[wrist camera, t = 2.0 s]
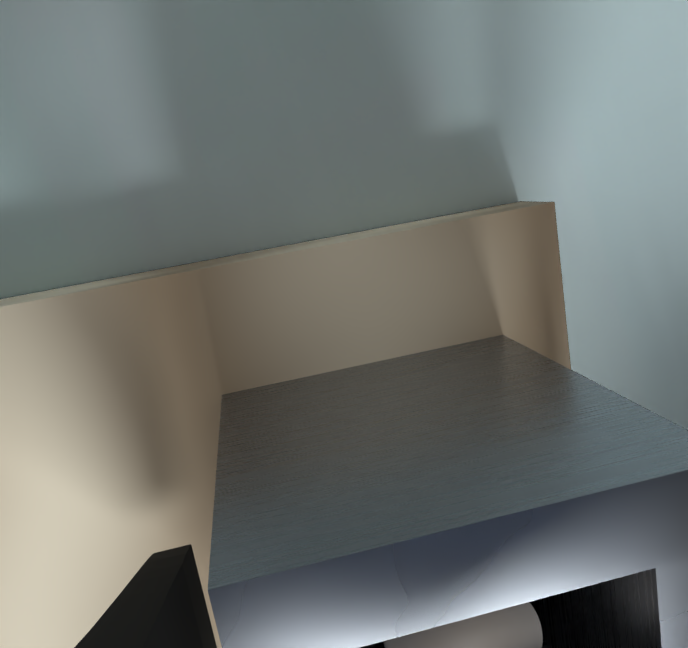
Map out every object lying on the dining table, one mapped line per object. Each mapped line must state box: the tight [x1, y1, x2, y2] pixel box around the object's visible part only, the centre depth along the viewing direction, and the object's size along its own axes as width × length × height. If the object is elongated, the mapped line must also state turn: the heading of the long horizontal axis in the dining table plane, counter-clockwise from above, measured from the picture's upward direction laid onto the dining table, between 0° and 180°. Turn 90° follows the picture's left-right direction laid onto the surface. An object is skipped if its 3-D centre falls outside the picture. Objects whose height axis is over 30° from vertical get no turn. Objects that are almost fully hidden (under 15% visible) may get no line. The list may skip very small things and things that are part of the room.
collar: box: [208, 335, 688, 648], centre depth 10 cm, size 5×5×6 cm
